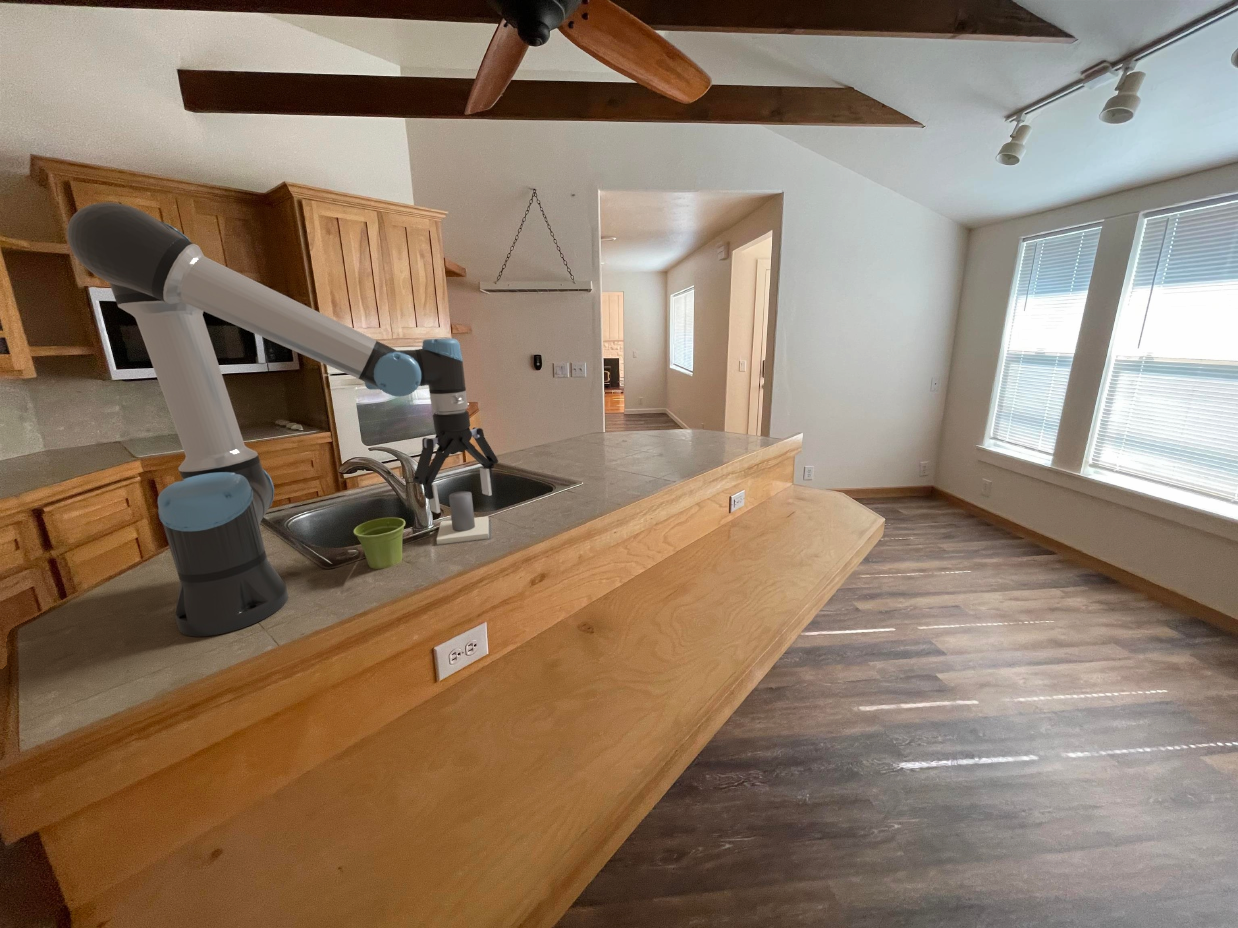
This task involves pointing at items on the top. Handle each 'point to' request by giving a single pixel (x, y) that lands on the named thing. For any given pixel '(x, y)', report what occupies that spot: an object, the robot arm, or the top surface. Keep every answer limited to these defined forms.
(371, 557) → the plant pot
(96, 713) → the top surface
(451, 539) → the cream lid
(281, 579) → the robot arm
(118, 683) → the top surface
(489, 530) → the charcoal mat
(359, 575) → the top surface
